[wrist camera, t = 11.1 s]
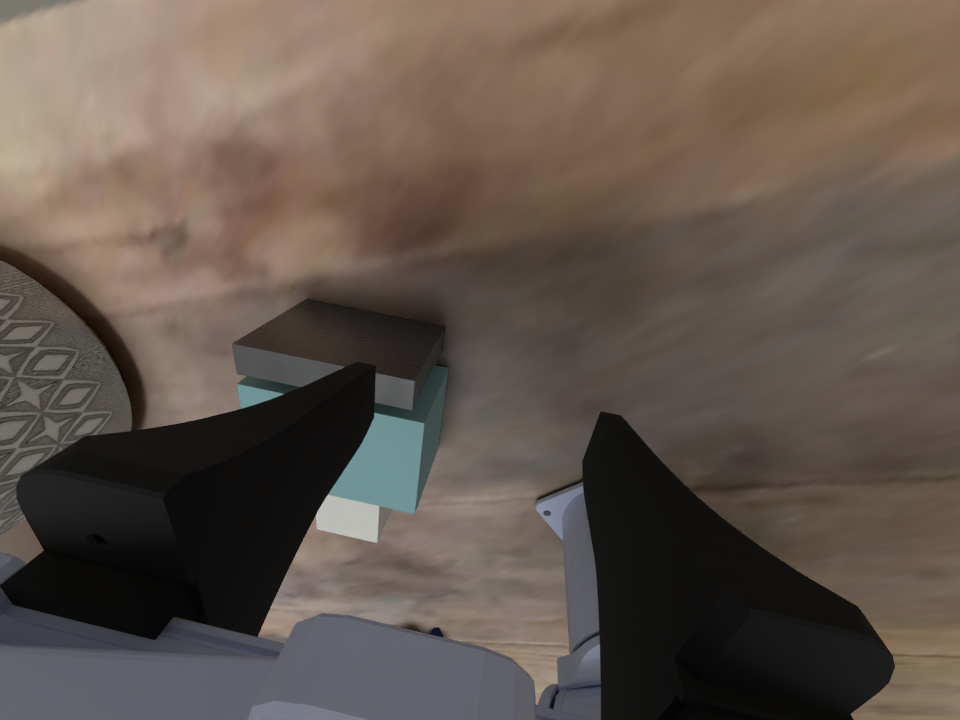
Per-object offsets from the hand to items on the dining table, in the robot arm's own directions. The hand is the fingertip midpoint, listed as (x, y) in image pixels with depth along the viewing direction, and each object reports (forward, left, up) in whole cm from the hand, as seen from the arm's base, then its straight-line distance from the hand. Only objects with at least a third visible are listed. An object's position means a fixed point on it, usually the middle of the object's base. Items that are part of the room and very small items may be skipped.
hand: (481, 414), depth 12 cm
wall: (+3, +7, -9) cm, 12 cm away
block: (0, +10, -9) cm, 14 cm away
